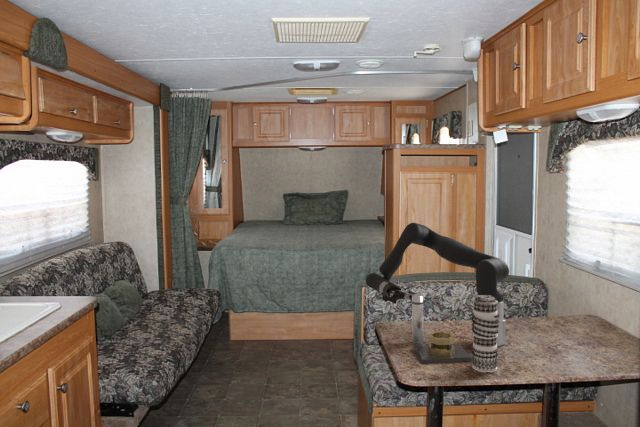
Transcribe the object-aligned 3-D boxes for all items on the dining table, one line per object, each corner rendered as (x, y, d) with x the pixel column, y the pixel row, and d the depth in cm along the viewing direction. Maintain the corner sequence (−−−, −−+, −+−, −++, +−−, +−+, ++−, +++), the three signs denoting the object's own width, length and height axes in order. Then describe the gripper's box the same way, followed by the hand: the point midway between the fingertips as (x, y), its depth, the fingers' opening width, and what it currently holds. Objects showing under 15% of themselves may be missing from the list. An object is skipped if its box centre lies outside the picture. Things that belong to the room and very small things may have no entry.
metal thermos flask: (421, 340, 202) (421, 294, 200) (424, 344, 198) (424, 296, 196) (410, 341, 202) (410, 294, 200) (413, 345, 197) (413, 297, 195)
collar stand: (458, 347, 194) (458, 328, 193) (472, 361, 180) (472, 340, 179) (412, 349, 192) (412, 330, 192) (422, 363, 178) (422, 343, 178)
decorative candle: (487, 360, 180) (488, 292, 178) (504, 370, 171) (505, 298, 169) (465, 364, 177) (465, 294, 175) (481, 374, 168) (482, 301, 166)
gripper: (375, 283, 223) (389, 293, 207) (404, 281, 226) (421, 290, 211) (375, 300, 223) (389, 310, 208) (404, 297, 227) (420, 308, 211)
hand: (405, 300), depth 209 cm, fingers open, 8 cm apart
